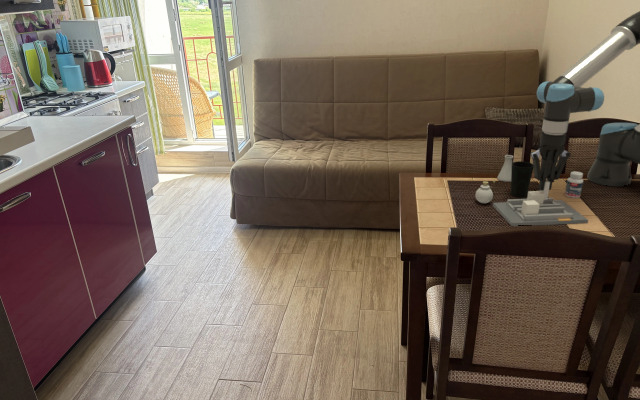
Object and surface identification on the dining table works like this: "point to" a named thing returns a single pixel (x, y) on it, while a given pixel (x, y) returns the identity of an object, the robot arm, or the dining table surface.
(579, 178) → the pill bottle
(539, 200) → the tab
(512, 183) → the cup
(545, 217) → the switch board
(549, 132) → the robot arm
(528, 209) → the tab
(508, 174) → the flask
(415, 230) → the dining table surface
